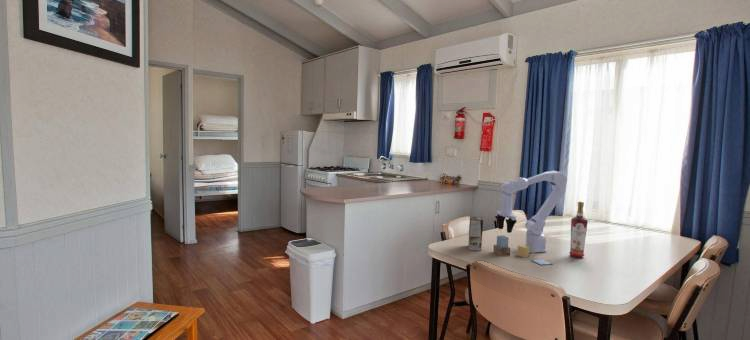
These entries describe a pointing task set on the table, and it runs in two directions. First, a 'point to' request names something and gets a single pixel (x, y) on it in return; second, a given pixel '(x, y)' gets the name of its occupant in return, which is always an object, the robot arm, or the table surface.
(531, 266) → the table surface
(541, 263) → the tile
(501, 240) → the blue block
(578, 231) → the liquor
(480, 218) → the coffee box
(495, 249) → the walnut block
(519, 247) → the ochre block
